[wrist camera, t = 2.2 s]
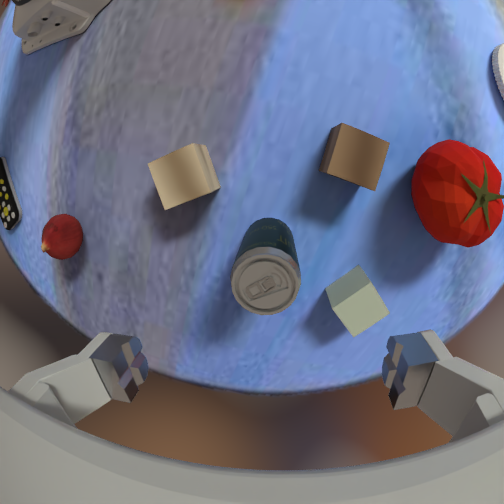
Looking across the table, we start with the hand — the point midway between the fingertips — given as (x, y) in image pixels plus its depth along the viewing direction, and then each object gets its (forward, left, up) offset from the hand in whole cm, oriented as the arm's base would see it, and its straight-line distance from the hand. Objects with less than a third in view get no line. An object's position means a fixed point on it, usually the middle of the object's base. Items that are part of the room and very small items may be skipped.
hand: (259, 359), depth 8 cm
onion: (-26, 0, -24) cm, 36 cm away
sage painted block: (+10, -10, -24) cm, 27 cm away
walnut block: (+9, +6, -24) cm, 26 cm away
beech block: (-8, +5, -24) cm, 26 cm away
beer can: (0, -3, -24) cm, 24 cm away
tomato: (+21, +3, -24) cm, 32 cm away
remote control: (-45, +8, -24) cm, 51 cm away
